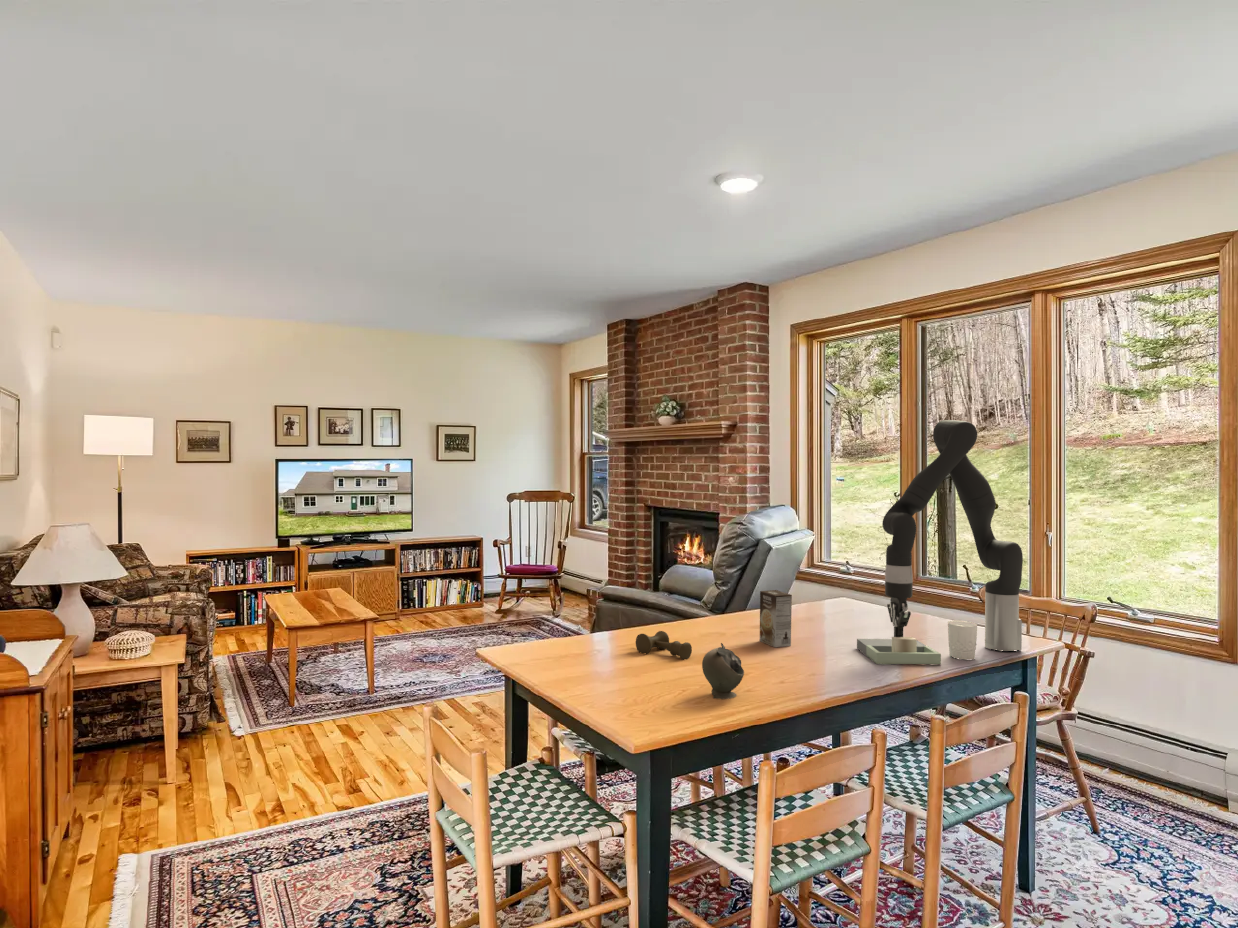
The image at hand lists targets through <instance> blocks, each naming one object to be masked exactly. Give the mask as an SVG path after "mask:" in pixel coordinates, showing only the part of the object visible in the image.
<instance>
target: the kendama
mask: <svg viewBox="0 0 1238 928" xmlns="http://www.w3.org/2000/svg"><path fill="white" fill-rule="evenodd" d="M635 647H636V650H637V652H638V653H640V652H641V653H640V654H643V653H646V654H645V655H647V654H649V653H650V651H651V650H652V649H653V648H657V649H660V650H666V651H667V652H669V653H670V655H672V656H674V657H675V656H678V657H679V658H680V659H681V660H682V661H685V660H684V659H686V660H688V659H690V657H691V655H692V651H693V650H692V649H693V647H692V645H691V643H690V642H683V643H681V642H680V641H679V640H674V641H673V642H670V637H669V634H668V633H667V632H666V631H664V630H658V631H657V632H656V633H655V635H652V636H649V635H647V634H646V633H639V634H637V636H636V638H635Z"/></svg>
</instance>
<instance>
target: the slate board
mask: <svg viewBox="0 0 1238 928" xmlns="http://www.w3.org/2000/svg"><path fill="white" fill-rule="evenodd" d="M866 645H871V646H872V647H874V648H875V649H876V650H878V651H879V652H892V638H856V649H857V650H858V649H859V650H860V652H861V653H862V654H863V653H864V654H865V655H864V654H863V655H864V656H866ZM924 646H927V645H926V644H924V643H923V642H921V641H919V640H917V652H921V653H924Z"/></svg>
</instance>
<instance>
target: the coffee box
mask: <svg viewBox="0 0 1238 928" xmlns="http://www.w3.org/2000/svg"><path fill="white" fill-rule="evenodd" d="M759 593H760V594H759V641H760V642H762V643H764V644H765V645H766V644H767V645H768V646H771V647H773V648H783V647H791V646H792V605H793V604H792V602H793V601H792V600H793V599H792V597H793V596H792V594H790V593H786V592H784V591H780V590H778V589H772V590H770V589H769V590H761V591H759Z"/></svg>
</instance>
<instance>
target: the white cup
mask: <svg viewBox="0 0 1238 928" xmlns="http://www.w3.org/2000/svg"><path fill="white" fill-rule="evenodd" d="M947 635H948V636H947V638H948V647H949V648H948V649H949V650H948V651H949V652H948V653H949V657H950V656H952V657H955V658H959V659H958V660H960V659H973V660H975V659H974V658H976V657H975V656H976V649H977V640H978V639H977V638H978V637H977V636H978V624H977V623H975V622H971V621H966V620H965V621H964V620H949V621H948V622H947ZM952 657H951V658H952ZM955 658H954V659H955Z"/></svg>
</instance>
